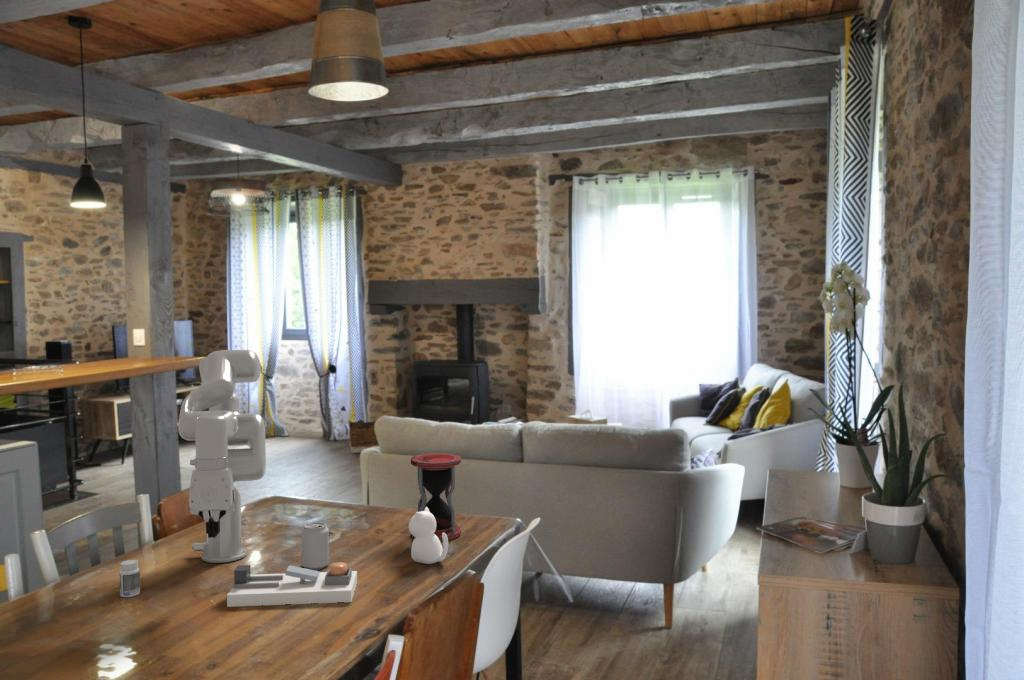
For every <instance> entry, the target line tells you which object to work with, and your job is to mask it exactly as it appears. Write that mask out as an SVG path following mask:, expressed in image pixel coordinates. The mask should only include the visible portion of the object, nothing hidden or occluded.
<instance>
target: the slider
mask: <svg viewBox="0 0 1024 680" xmlns="http://www.w3.org/2000/svg"><path fill="white" fill-rule="evenodd" d="M233 573H234V574H233V576H234V577H233V579H234V580H233V581H234V583H233V585H234V584H243V583H249V582H250V581H251V577H250V575H251V564H248V565H247V564H246V565H245V564H244V565H242V564H241V565H237V566H236V568H235V569H234V571H233Z"/></svg>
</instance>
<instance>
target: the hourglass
mask: <svg viewBox="0 0 1024 680" xmlns="http://www.w3.org/2000/svg"><path fill="white" fill-rule="evenodd" d="M461 462H462V458H461V456H459V455H457V454H453V453H442V452H441V453H438V452H437V453H436V452H435V453H423V454H418V455H414V456H412V457H411V458H410V465H412V466H413V467H416V468H417V485H418V491H419V494H420V499H419V500H418V502H417V512H421V511H424V510H425V508H426V507H427V508H428V509H429V511H430V513H432V514H433V516H434V517H435V520H436V530H435V532H434V533H433V534H435V535H436V536H437V537H438V538H439V540H440V542H443V539H442V533H445V534H446V535H447V538H448V541H451V540H454V539H453V538H455V539H456V537H457V538H458V536H459V535H461V534H462V528H461V526H460V525H458V524H456V510H455V507H454V505H453V501H452V494H453V493H454V491H455V488H456V486H455V485H456V481H455V478H456V476H455V475H456V474H455V473H456V472H455V471H456V468H455V467H456V466H459V465H460V464H461ZM426 491H427V492H428V493H429V494H430V495H431V498H430V499H429V500H428V499H427V494H426ZM443 492H444V494H445V495H444V496H445V498H446V501H444V499H443V498H442V497H441V494H442V493H443ZM427 500H428V501H427ZM446 502H447V503H446ZM460 533H461V534H460ZM410 535H411V537H412V536H413V535H412V534H411V533H410ZM413 537H414V536H413ZM413 537H412V538H413ZM459 537H460V536H459ZM415 538H416V537H414V538H413V539H415ZM450 539H451V540H450Z"/></svg>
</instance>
